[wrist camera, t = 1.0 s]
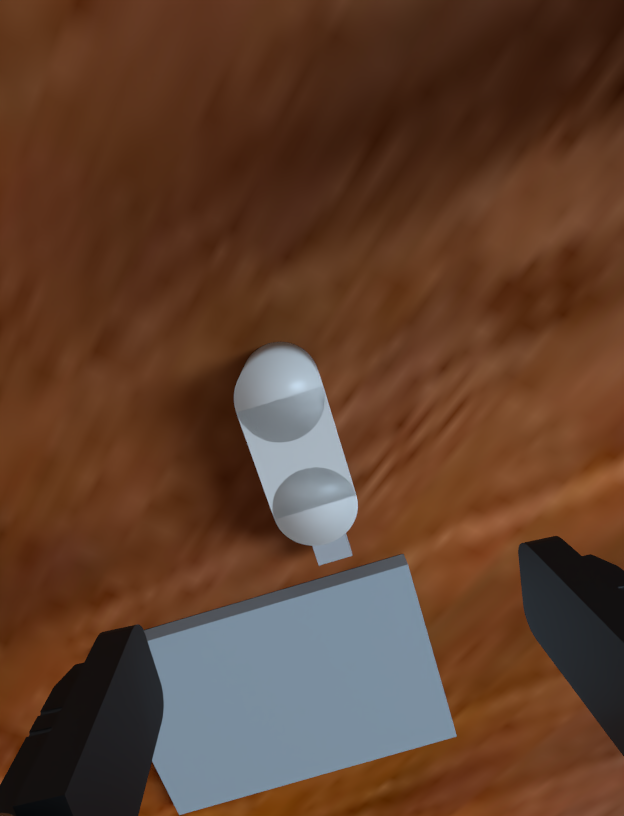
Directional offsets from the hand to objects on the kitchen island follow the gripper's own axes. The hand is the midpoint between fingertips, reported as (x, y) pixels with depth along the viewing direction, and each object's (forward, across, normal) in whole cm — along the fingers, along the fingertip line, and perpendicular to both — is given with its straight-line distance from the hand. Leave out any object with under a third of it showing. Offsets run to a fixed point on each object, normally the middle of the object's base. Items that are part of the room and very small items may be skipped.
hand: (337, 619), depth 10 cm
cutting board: (+20, +4, +19) cm, 27 cm away
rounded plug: (+19, 0, +2) cm, 19 cm away
